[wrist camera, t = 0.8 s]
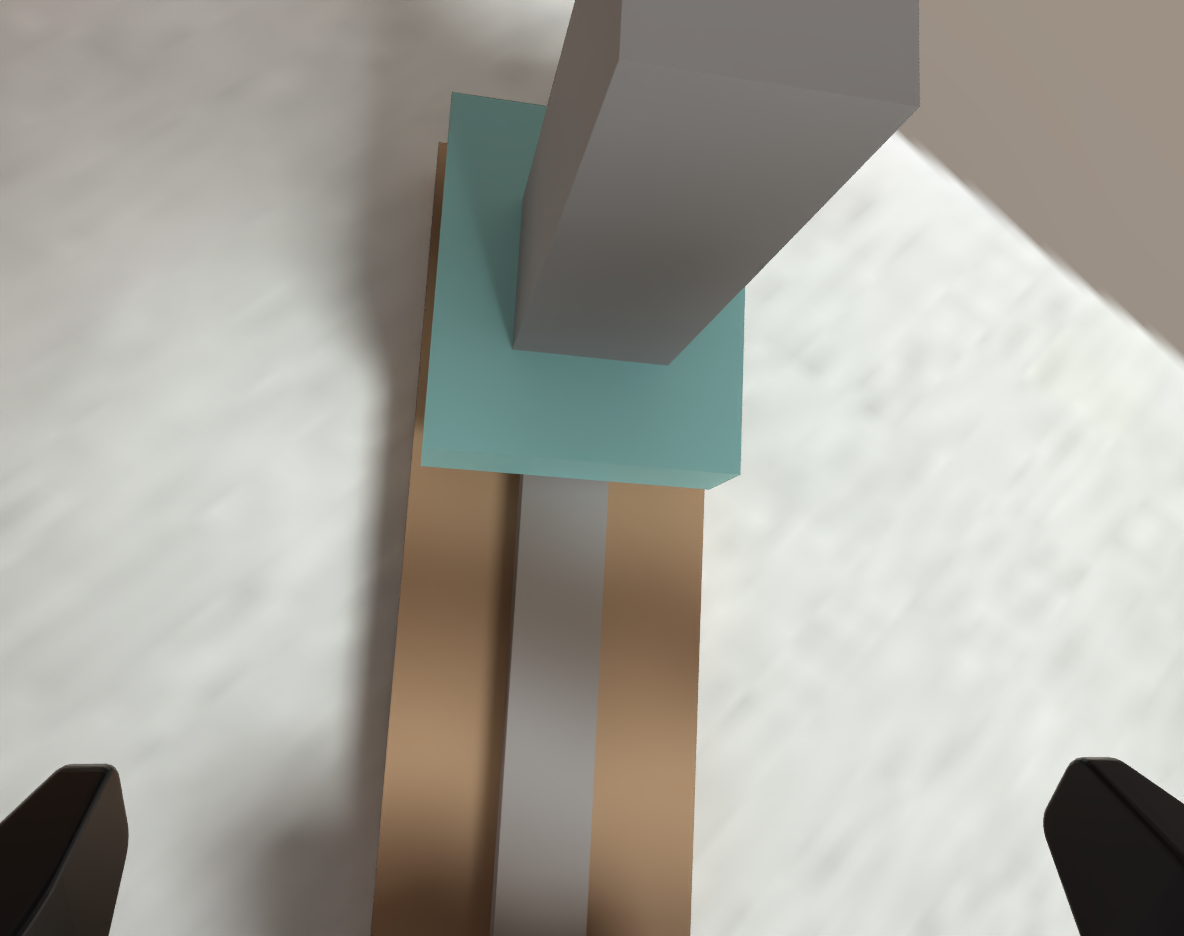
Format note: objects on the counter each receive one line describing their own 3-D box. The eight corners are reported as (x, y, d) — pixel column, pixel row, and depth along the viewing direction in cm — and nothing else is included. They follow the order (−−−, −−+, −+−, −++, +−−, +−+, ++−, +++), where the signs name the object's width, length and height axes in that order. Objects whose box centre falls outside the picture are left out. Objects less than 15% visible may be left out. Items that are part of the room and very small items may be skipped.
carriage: (708, 489, 21) (1065, 319, 9) (420, 466, 20) (437, 243, 8) (718, 179, 22) (1043, -294, 11) (447, 142, 21) (494, -425, 10)
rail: (661, 1179, 21) (759, 1390, 15) (349, 1192, 19) (325, 1426, 14) (695, 207, 24) (784, 76, 19) (436, 173, 23) (446, 22, 18)
